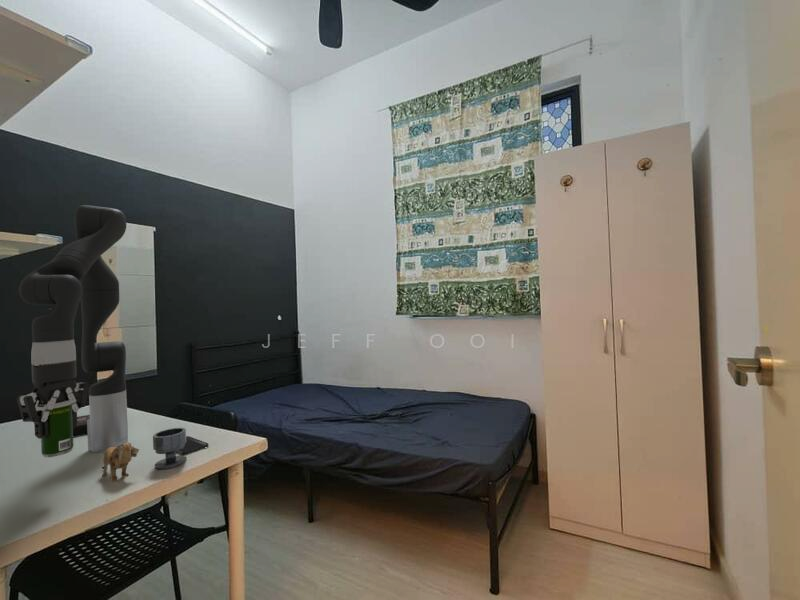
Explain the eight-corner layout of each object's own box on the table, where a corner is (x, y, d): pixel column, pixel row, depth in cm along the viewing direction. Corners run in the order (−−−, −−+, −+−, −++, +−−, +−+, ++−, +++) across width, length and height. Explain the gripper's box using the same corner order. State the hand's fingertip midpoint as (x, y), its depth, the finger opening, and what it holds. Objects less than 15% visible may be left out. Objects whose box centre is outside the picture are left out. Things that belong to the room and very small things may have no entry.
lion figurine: (142, 475, 92) (141, 440, 92) (118, 485, 87) (117, 448, 87) (113, 466, 99) (112, 433, 99) (89, 475, 94) (88, 440, 94)
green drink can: (79, 448, 86) (78, 398, 86) (55, 458, 81) (53, 404, 81) (60, 447, 87) (58, 398, 87) (34, 457, 81) (33, 404, 81)
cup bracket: (147, 469, 95) (146, 437, 95) (168, 457, 103) (167, 427, 103) (173, 469, 94) (171, 437, 94) (192, 457, 102) (191, 427, 102)
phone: (187, 435, 119) (209, 443, 110) (187, 439, 119) (209, 447, 110) (160, 443, 112) (182, 453, 103) (160, 447, 112) (182, 457, 103)
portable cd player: (56, 430, 136) (56, 420, 136) (114, 420, 146) (114, 410, 146) (49, 442, 122) (49, 430, 123) (113, 430, 133) (113, 419, 133)
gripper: (72, 355, 91) (74, 422, 91) (3, 366, 77) (5, 445, 77) (98, 355, 90) (100, 422, 90) (33, 365, 76) (36, 445, 76)
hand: (57, 432), depth 84 cm, fingers closed on green drink can, 5 cm apart
